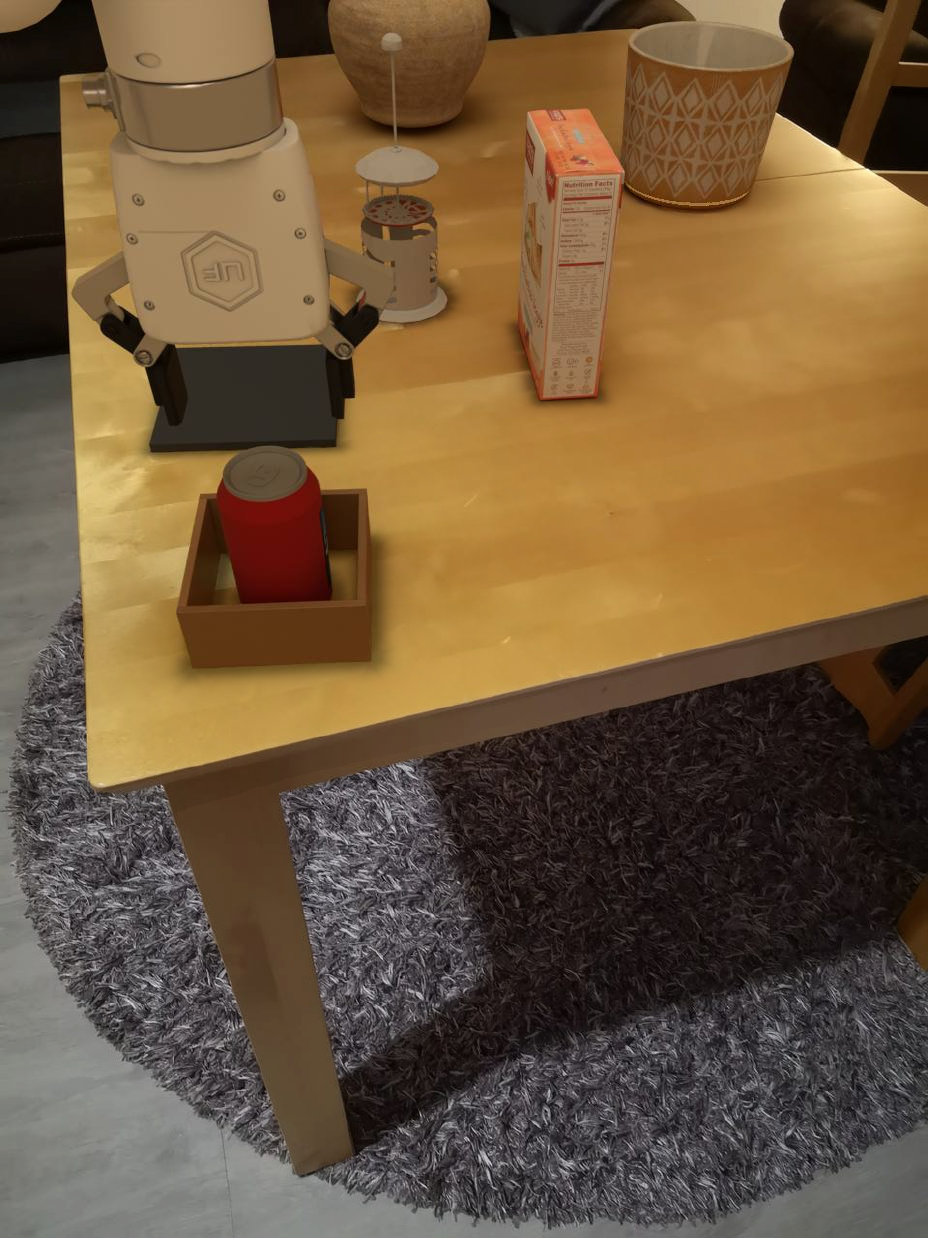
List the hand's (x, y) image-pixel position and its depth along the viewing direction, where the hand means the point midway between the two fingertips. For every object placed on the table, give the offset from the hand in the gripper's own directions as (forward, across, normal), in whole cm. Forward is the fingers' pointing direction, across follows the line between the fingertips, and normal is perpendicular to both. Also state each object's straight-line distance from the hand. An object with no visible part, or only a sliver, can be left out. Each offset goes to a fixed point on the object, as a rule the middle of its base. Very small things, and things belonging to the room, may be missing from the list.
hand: (259, 409), depth 56 cm
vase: (+17, +11, +100) cm, 102 cm away
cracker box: (+17, +23, +32) cm, 43 cm away
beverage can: (+17, -1, 0) cm, 17 cm away
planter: (+18, +46, +74) cm, 89 cm away
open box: (+16, -1, 0) cm, 17 cm away
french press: (+17, +8, +46) cm, 50 cm away
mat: (+16, -6, +27) cm, 32 cm away
